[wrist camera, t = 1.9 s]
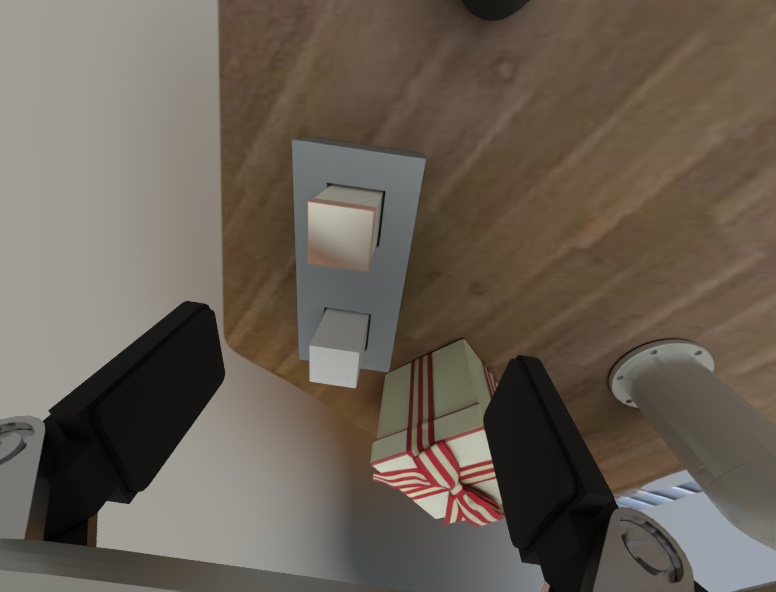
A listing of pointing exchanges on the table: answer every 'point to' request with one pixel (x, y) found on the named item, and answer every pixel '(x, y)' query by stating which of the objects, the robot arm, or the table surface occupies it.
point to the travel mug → (494, 8)
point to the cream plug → (344, 226)
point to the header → (346, 286)
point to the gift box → (439, 436)
